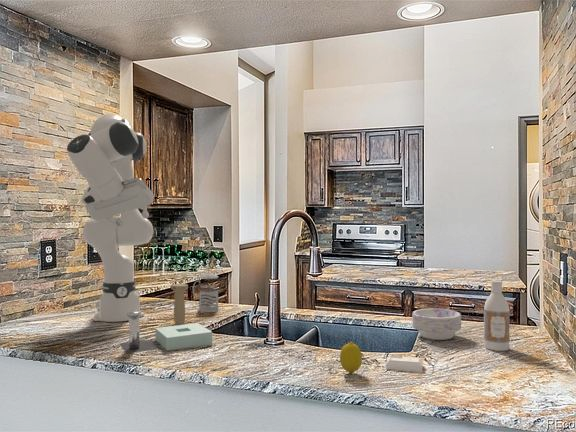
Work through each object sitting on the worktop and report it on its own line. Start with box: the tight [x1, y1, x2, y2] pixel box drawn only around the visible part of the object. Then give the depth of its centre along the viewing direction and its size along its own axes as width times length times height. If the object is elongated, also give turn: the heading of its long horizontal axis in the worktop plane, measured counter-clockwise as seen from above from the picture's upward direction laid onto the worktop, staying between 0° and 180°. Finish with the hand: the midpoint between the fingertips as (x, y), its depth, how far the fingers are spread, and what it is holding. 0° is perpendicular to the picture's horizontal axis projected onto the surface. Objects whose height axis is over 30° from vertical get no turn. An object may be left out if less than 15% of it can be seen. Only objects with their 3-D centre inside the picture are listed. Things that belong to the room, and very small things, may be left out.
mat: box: [118, 338, 162, 354], centre depth 150 cm, size 12×10×1 cm
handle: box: [170, 283, 189, 326], centre depth 175 cm, size 5×6×15 cm
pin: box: [127, 310, 142, 350], centre depth 147 cm, size 4×4×11 cm
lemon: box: [339, 341, 363, 374], centre depth 124 cm, size 6×6×8 cm
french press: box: [192, 249, 221, 313], centre depth 206 cm, size 10×12×25 cm
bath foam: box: [483, 279, 511, 352], centre depth 146 cm, size 7×7×20 cm
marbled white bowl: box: [411, 308, 462, 341], centre depth 160 cm, size 15×15×8 cm
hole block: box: [154, 322, 213, 351], centre depth 154 cm, size 14×14×4 cm
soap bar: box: [385, 355, 424, 373], centre depth 128 cm, size 5×9×3 cm, turn 73°
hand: (133, 220), depth 153 cm, fingers open, 8 cm apart
